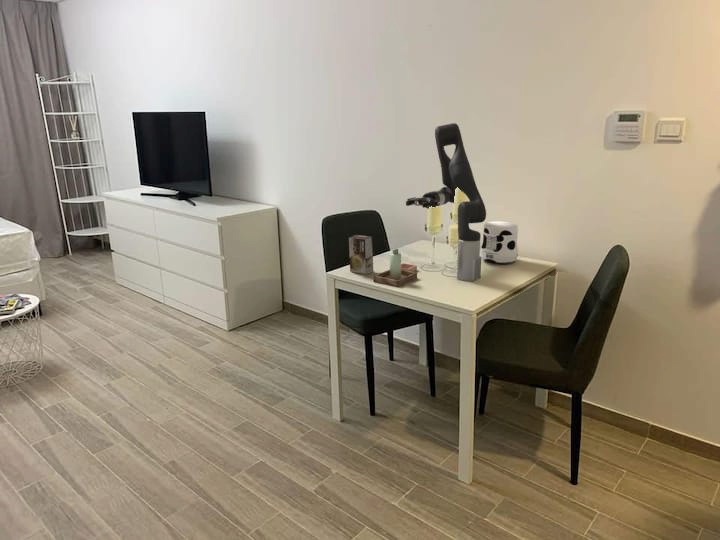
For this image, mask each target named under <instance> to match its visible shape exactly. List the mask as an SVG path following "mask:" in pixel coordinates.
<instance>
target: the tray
mask: <svg viewBox="0 0 720 540" xmlns="http://www.w3.org/2000/svg"><path fill="white" fill-rule="evenodd" d="M416 279H418V272H417V271H414V272H411V271H405V270H401V279H400V280H393V279H390V269H388V270H385V271H383V272H380V273H377V274H375V275H373V282H374V283H377V282H378V284H382V285H387V286H392V287H397V288H399V287H402V286H404V285H405V284H408V283H410V282H412V281H414V280H416Z"/></svg>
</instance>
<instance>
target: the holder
mask: <svg viewBox="0 0 720 540" xmlns="http://www.w3.org/2000/svg"><path fill="white" fill-rule="evenodd" d="M401 270H405V271H411V272H417V270H418V265H416V264H410V263H405V262H403V263H402V262H401Z"/></svg>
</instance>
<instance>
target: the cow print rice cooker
mask: <svg viewBox="0 0 720 540" xmlns="http://www.w3.org/2000/svg"><path fill="white" fill-rule="evenodd" d="M518 226H519V225H518V224H517V223H516V222H515V223H514V222H511V221H500V220H499V221H488V222H485V223H484V224H483V233H482V236H483V237H482V244H481V246H480V256H481V260H483V261H484V262H486V263H489V264H494V265H507V264H512V263H515V262H516V261H517V260H518V256H519V249H518V248H519V247H518V231H519V227H518Z"/></svg>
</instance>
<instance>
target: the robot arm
mask: <svg viewBox="0 0 720 540" xmlns="http://www.w3.org/2000/svg"><path fill="white" fill-rule="evenodd" d="M434 137H435V144H436V149H437V150H436V151H437V154H438V158H439V163H440V168H441V179H442V184H443V187H442V188H440V189H439V190H432V191H428V192H425V193H424V194H423V195H422V196H421V197H416V196H414V197H410V198H407V200H406V201H405V206H407V207H409V206H417V207H418V206H419V207H420V206H421V207H422V208H424V209H425V208H426V209H428V210H430V209H429V207H431V206H432V207H435V208H437V207H436V206H438V207H441V206H443V205H446V204H448V203H453V204H455V203H454V196H455V189H456V188H457V187H458V188H459V189H460V190H461V192H462V194H464V195H466V197H467V198H468V201H460V202H459V204H458V207H457V236H458V238H457V239H458V240H457V263H456V264H457V265H456V266H457V267H456V279H458V280H460V281H465V282H476V281H477V280H479V279H481V274H482V273H481V272H482V258H481V238H482V237H481V232H479V231H478V230H474V229H471V228H470V224H480V223H484V221H485V220H486V219H487V218H486V217H487V209H486V205H485V203H484V201H483V198H482V197H481V194H480V191H479V189H478V186H477V182H476V180H475V178H474V174H473V171H472V168H471V164H470V161H469V158H468V155H467V153H466V150H465V146H464V142H463V137H462V133H461V129H460V127H459V125H458V124H457V123H455V122H454V123H447V124H443V125H438V126H436V127H435V129H434ZM451 145H455V149H454V152H453V154H452V157H451V158H450V157H449V155H448V154H447V153H446V150H445V147H447V146H451Z"/></svg>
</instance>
